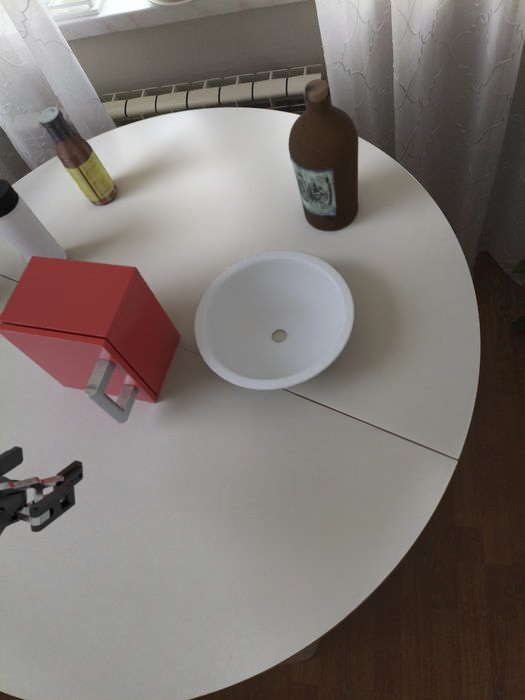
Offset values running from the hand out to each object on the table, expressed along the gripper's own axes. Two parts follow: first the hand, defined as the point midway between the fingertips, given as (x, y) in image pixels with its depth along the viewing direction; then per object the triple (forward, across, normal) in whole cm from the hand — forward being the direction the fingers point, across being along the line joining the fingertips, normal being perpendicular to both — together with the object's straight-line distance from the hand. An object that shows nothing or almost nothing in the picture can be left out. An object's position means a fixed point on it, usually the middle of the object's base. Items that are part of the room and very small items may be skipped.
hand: (49, 460), depth 66 cm
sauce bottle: (+51, +25, -27) cm, 63 cm away
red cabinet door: (+20, +6, +3) cm, 22 cm away
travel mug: (+38, +28, -15) cm, 50 cm away
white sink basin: (+33, -18, -9) cm, 39 cm away
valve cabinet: (+27, +6, -4) cm, 28 cm away
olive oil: (+51, -21, -27) cm, 62 cm away
